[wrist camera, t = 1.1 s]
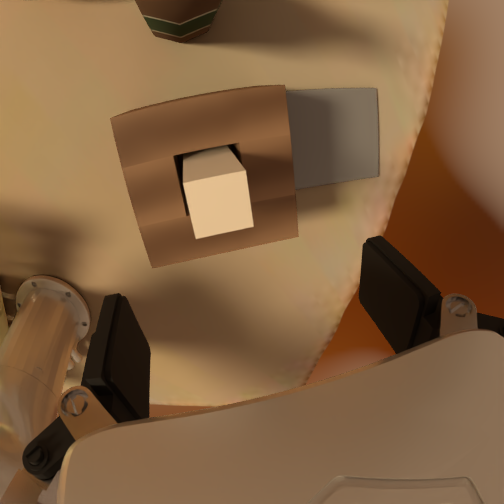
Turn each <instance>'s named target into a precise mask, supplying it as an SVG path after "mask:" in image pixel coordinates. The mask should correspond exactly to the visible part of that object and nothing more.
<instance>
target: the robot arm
mask: <svg viewBox="0 0 504 504" xmlns="http://www.w3.org/2000/svg"><path fill="white" fill-rule="evenodd" d="M440 294H441V292H440V291H439V290H438V289H437V288H436V287H435V286H434V285H433V284H432V283H431V282H430V281H429V280H428V279H427V278H426V277H425V276H424V275H423V274H422V273H421V272H420V271H419V270H418V269H417V268H416V267H415V266H414V265H413V264H412V263H410V262H409V261H408V260H407V259H406V258H405V257H404V256H403V255H402V254H401V253H399V251H398V250H396V249H395V248H394V247H393V246H392V245H391V244H390V243H389V242H387V241H386V240H385V239H384V238H383V237H382V236H376V237H371V238H368V239H367V240H366V243H364V244H363V250H362V264H361V276H360V288H359V300H360V303H361V304H362V306H363V307H364V308H365V310H366V311H367V312H368V314H369V315H370V317H371V318H372V320H373V321H374V322H375V323H376V325H377V327H378V328H379V330H380V331H381V332H382V334H383V335H384V337H385V338H386V340H387V341H388V342H389V344H390V345H391V347H392V348H393V350H394V351H395V353H396V354H395V355H393V356H390V357H388V358H385V359H383V360H380V361H377V362H375V363H372V364H369V365H367V366H364V367H361V368H358V369H355V370H352V371H349V372H346V373H343V374H340V375H338V376H334V377H331V378H328V379H325V380H321V381H318V382H315V383H311V384H308V385H305V386H301V387H298V388H294V389H290V390H287V391H283V392H279V393H275V394H271V395H267V396H263V397H259V398H255V399H251V400H246V401H242V402H237V403H233V404H228V405H223V406H218V407H213V408H208V409H202V410H196V411H190V412H185V413H179V414H173V415H166V416H159V417H153V418H149V387H150V355H151V352H150V347H149V344H148V342H147V340H146V338H145V336H144V334H143V332H142V330H141V328H140V326H139V324H138V322H137V320H136V317H135V315H134V313H133V311H132V309H131V307H130V304H129V302H128V300H127V298H126V297H125V296H121V294H119V293H118V294H113V295H108V296H105V298H104V301H103V305H102V309H101V312H100V316H99V320H98V324H97V328H96V332H95V333H93V335H92V337H91V341H90V346H89V350H88V354H87V358H86V363H85V368H84V372H83V377H82V382H81V386H74V387H71V388H69V389H68V390H66V391H65V392H64V393H63V394H62V389H63V385H64V380H65V376H66V372H67V370H70V369H72V368H73V367H74V362H73V360H72V359H71V358H70V357H71V355H72V357H73V358H74V360H75V361H76V362H80V361H81V360H82V356H81V355H80V353H79V352H78V351H77V349H76V348H77V344H78V341H80V340H82V339H83V338H84V337H85V336H86V334H87V332H88V330H89V326H90V321H91V318H90V312H89V309H88V306H87V304H86V302H85V300H84V299H83V298H82V296H81V295H80V294H79V293H78V292H77V291H76V290H75V289H74V288H73V287H71V286H70V285H69V284H67V283H65V282H64V281H62V280H60V279H57V278H55V277H51V276H46V275H38V276H33V277H30V278H28V279H26V280H25V281H24V282H23V283H22V284H21V286H20V287H19V289H18V291H17V294H16V308H17V314H16V316H15V318H14V320H13V322H12V324H11V326H10V328H9V330H8V332H7V334H6V336H5V338H4V340H3V342H2V345H1V347H0V504H504V319H502V318H498V317H493V316H489V315H485V314H481V313H477V312H476V307H475V304H474V303H473V301H471V300H470V299H469V298H467V297H466V296H464V295H460V294H450V295H447V296H446V297H444V298H443V297H442V296H441V295H440ZM61 394H62V395H61ZM57 413H59V417H58V418H57V419H56V417H57Z"/></svg>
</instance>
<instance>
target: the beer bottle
mask: <svg viewBox="0 0 504 504" xmlns="http://www.w3.org/2000/svg"><path fill="white" fill-rule="evenodd" d="M135 1H136V3H137V5H138V7H139V9H140V11H141V13H142V15H143V17H144V19H145V20H146V22H147V24H148V26H149V27H150V29H151V31H152V33H153V34H154V35H155V36H156V37H160V38H164V39H168V40H171V41H175V42H179V43H183V42H185V41H187V40H189V39H192V38H194V37H196V36H199V35H201V34H203V33H206V32H207V31H208V30H209V28H210V25H211V23H212V21H213V19H214V17H215V15H216V13H217V11H218V9H219V7H220V4H221V2H222V0H135Z"/></svg>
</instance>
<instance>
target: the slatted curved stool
mask: <svg viewBox="0 0 504 504" xmlns="http://www.w3.org/2000/svg"><path fill="white" fill-rule="evenodd" d="M8 330H9V326H8V321H7V317H6V312H5V308H4V304H3V298H2V292H1V287H0V347H1V345H2V342H3V340H4V338H5V336H6V334H7V332H8Z"/></svg>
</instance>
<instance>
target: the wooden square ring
mask: <svg viewBox="0 0 504 504" xmlns="http://www.w3.org/2000/svg"><path fill="white" fill-rule="evenodd" d="M110 120H111V124H112V129H113V133H114V138H115V142H116V146H117V150H118V154H119V158H120V162H121V166H122V170H123V174H124V178H125V181H126V185H127V189H128V192H129V196H130V199H131V203H132V206H133V210H134V213H135V216H136V220H137V223H138V226H139V230H140V233H141V236H142V239H143V242H144V245H145V248H146V251H147V254H148V257H149V260H150V263H151V266H152V268H157V267H161V266H166V265H170V264H175V263H179V262H184V261H189V260H193V259H198V258H202V257H207V256H211V255H216V254H221V253H225V252H230V251H234V250H239V249H244V248H248V247H253V246H257V245H262V244H267V243H271V242H276V241H281V240H285V239H290V238H295V237H299V236H298V221H297V207H296V194H295V181H294V169H293V158H292V147H291V137H290V127H289V118H288V108H287V100H286V91H285V85H265V86H252V87H244V88H236V89H230V90H223V91H217V92H211V93H205V94H200V95H194V96H189V97H184V98H180V99H175V100H170V101H166V102H162V103H157V104H153V105H149V106H145V107H141V108H138V109H134V110H130V111H128V112H125V113H122V114H120V115H117V116H115V117H112V118H110ZM222 145H227V146H228V148H229V149H230V150H231V151H232V153H233V154H234V155H235V157H236V158H237V159H238V161H239V162H240V163H241V165H242V166H243V167H244V169H245V170H246V176H247V183H248V190H249V197H250V204H251V211H252V218H253V225H254V227H250V228H245V229H240V230H236V231H231V232H226V233H221V234H217V235H212V236H208V237H203V238H198V239H196V238H195V234H194V229H193V225H192V221H191V217H190V212H189V208H188V204H187V199H186V195H185V190H184V186H183V153H187V152H192V151H197V150H202V149H207V148H212V147H217V146H222Z"/></svg>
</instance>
